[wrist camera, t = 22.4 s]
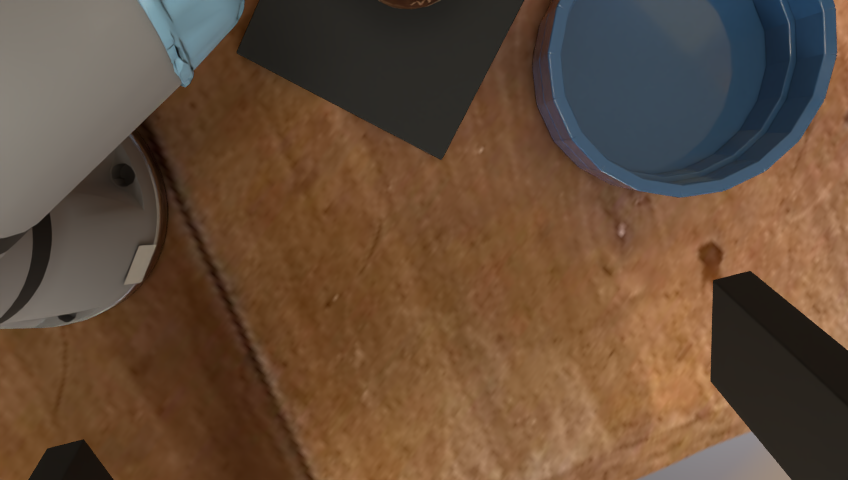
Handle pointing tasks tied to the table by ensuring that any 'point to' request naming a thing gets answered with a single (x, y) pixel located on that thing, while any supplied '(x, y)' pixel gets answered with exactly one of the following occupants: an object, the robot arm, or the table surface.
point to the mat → (385, 58)
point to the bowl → (682, 86)
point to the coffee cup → (408, 3)
